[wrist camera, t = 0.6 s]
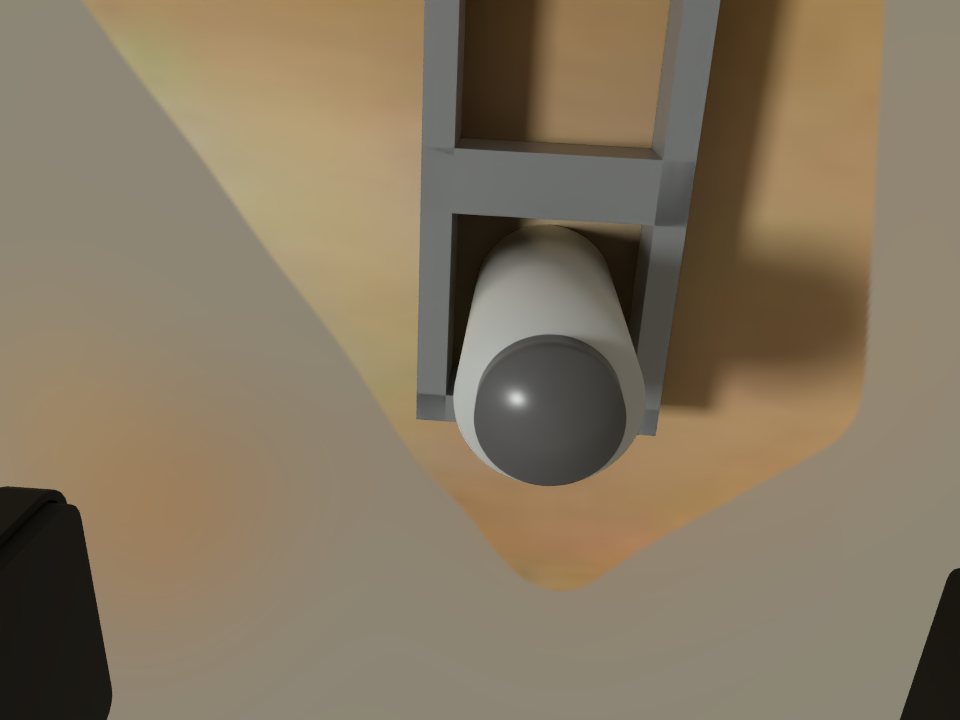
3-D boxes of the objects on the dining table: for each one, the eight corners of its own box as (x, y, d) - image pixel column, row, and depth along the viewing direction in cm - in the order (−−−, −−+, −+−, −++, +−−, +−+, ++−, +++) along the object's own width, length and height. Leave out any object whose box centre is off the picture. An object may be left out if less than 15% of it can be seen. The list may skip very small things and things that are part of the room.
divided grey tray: (437, -117, 29) (426, -132, 26) (717, -104, 29) (738, -117, 26) (425, 389, 37) (416, 419, 34) (646, 404, 36) (655, 435, 33)
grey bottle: (479, 220, 33) (453, 319, 22) (619, 229, 33) (664, 332, 22) (473, 349, 36) (446, 498, 24) (604, 358, 36) (638, 512, 24)
